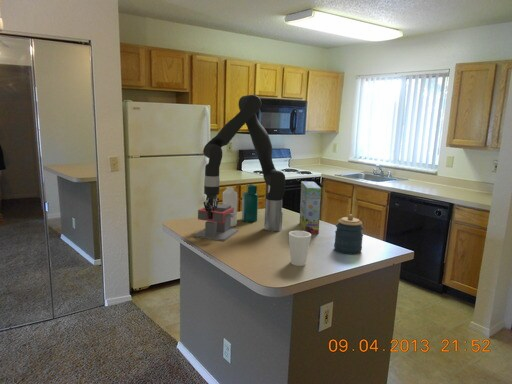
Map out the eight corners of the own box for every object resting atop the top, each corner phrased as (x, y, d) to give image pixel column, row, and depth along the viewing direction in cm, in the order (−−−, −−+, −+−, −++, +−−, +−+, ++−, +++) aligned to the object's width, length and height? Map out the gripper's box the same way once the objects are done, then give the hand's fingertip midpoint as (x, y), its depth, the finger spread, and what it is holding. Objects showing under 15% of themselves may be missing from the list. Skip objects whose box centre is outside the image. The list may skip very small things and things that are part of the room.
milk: (228, 227, 214) (229, 188, 209) (221, 224, 218) (222, 186, 213) (236, 225, 218) (237, 187, 214) (229, 223, 222) (230, 185, 218)
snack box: (297, 223, 228) (300, 180, 223) (312, 223, 228) (315, 181, 223) (303, 233, 206) (306, 187, 202) (319, 234, 207) (322, 187, 202)
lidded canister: (328, 248, 183) (330, 213, 180) (345, 244, 191) (348, 210, 188) (349, 256, 173) (353, 219, 170) (367, 251, 181) (370, 215, 178)
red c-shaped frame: (222, 223, 188) (223, 213, 187) (197, 219, 193) (197, 210, 192) (233, 217, 202) (234, 207, 201) (209, 213, 206) (210, 204, 205)
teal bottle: (241, 218, 233) (242, 183, 229) (254, 218, 235) (256, 183, 231) (244, 222, 224) (245, 186, 220) (258, 222, 226) (259, 186, 222)
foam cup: (294, 268, 157) (296, 238, 154) (283, 260, 165) (284, 231, 162) (313, 265, 161) (315, 235, 159) (301, 258, 169) (303, 229, 167)
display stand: (224, 241, 188) (224, 213, 186) (193, 236, 194) (193, 209, 191) (238, 231, 206) (239, 206, 203) (210, 227, 211) (210, 202, 209)
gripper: (212, 187, 181) (212, 222, 184) (224, 183, 193) (223, 216, 197) (198, 186, 183) (198, 220, 186) (211, 182, 196) (210, 215, 199)
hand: (211, 218), depth 191 cm, fingers closed on red c-shaped frame, 1 cm apart
